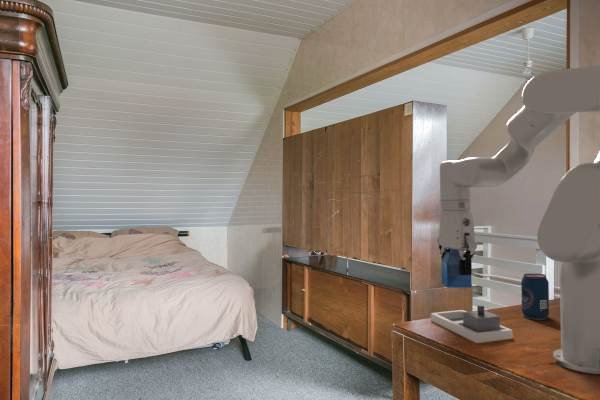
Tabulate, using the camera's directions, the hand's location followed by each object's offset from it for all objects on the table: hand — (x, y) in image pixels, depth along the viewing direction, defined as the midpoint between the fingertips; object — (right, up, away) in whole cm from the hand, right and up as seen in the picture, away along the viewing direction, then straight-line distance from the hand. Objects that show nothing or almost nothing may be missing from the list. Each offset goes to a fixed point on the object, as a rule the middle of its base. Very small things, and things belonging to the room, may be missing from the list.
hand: (456, 271), depth 122 cm
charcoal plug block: (+3, -14, -10) cm, 17 cm away
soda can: (+25, -14, +8) cm, 30 cm away
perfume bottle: (0, -4, 0) cm, 4 cm away
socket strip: (+2, -15, -5) cm, 16 cm away
